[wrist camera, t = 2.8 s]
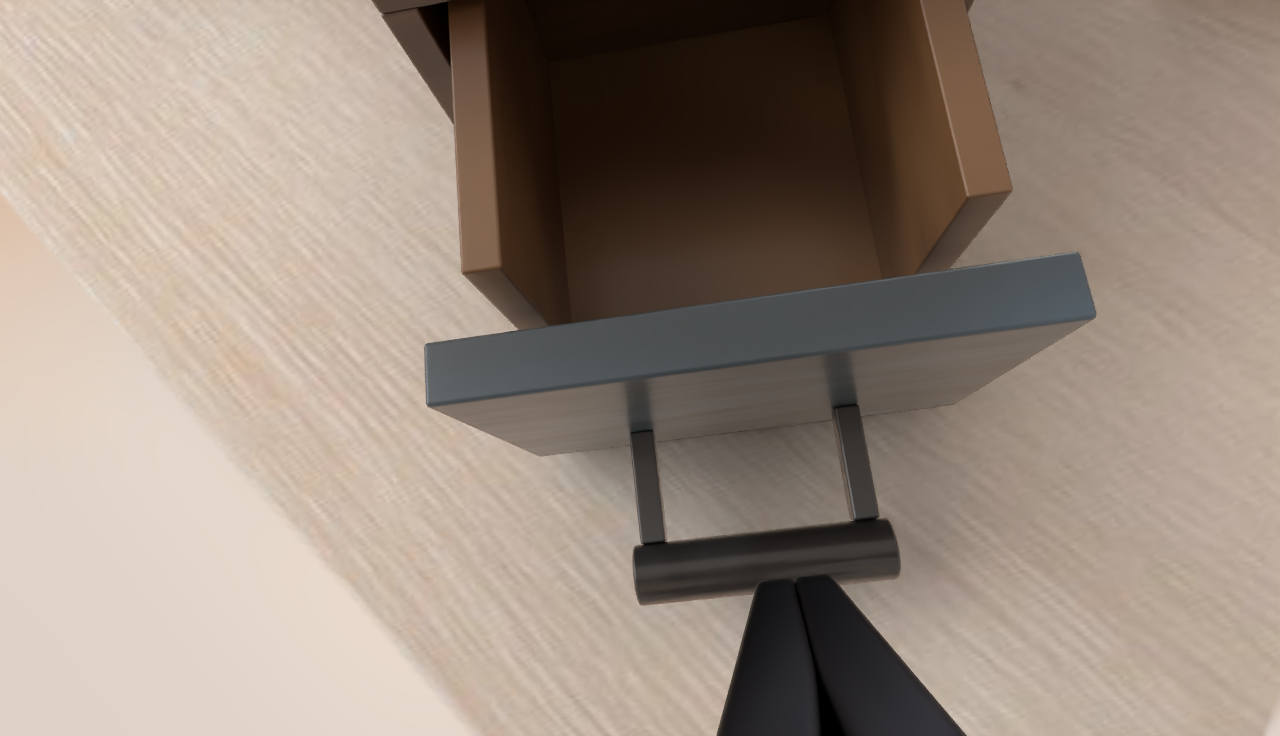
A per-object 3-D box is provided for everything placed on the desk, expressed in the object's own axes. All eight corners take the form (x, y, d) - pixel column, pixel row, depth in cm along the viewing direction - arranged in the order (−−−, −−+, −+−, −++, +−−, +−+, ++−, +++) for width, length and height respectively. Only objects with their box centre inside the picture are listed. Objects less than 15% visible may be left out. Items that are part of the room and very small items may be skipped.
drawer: (989, 563, 18) (1172, 580, 11) (548, 609, 19) (432, 653, 12) (868, 9, 22) (939, -263, 15) (509, 72, 23) (404, -152, 16)
